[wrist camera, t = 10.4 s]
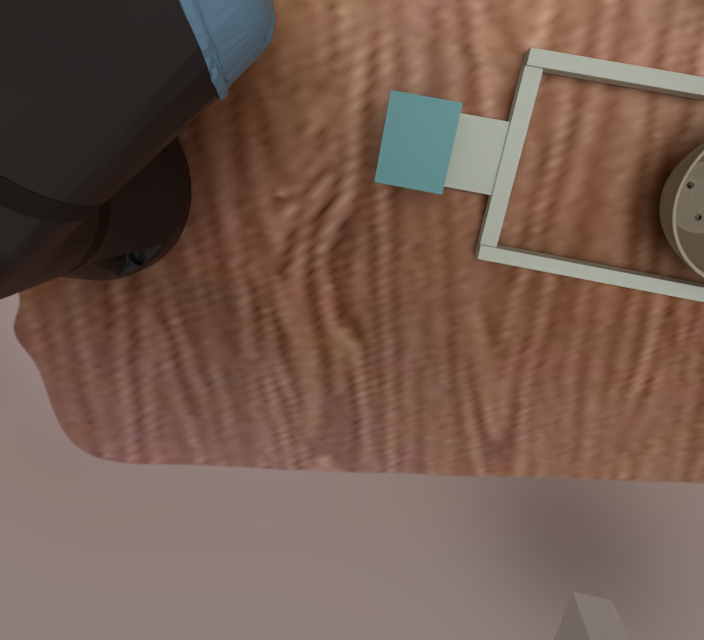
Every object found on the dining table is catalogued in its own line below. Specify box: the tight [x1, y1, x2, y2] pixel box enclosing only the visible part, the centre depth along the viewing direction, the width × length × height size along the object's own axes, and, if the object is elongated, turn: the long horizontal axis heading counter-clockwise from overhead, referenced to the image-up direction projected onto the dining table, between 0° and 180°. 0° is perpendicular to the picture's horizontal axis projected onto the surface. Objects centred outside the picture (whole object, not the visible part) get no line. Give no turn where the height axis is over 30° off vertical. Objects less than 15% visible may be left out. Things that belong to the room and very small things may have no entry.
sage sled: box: [374, 48, 704, 302], centre depth 34 cm, size 28×14×9 cm, turn 80°
